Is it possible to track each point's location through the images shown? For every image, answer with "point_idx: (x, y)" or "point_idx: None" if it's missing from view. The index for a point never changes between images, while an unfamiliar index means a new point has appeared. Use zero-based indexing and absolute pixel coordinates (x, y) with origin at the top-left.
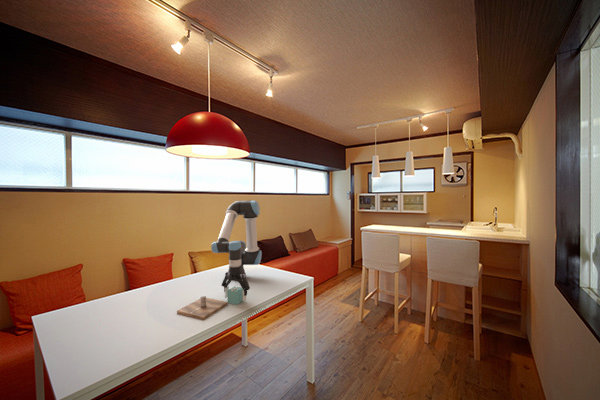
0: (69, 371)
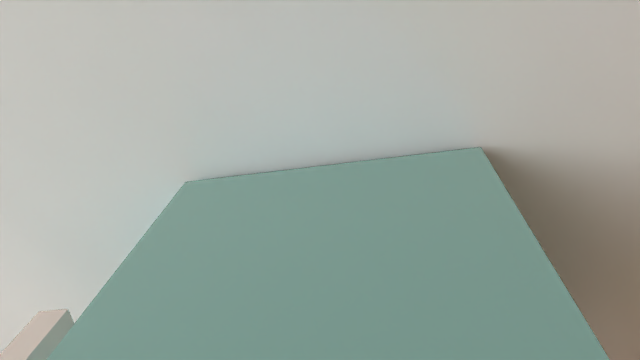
0: None
